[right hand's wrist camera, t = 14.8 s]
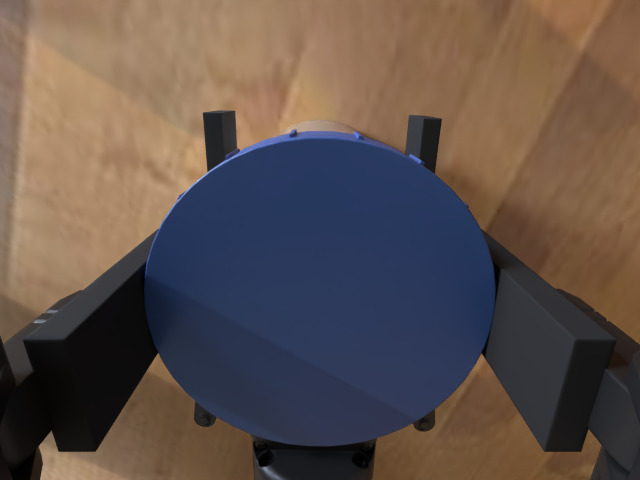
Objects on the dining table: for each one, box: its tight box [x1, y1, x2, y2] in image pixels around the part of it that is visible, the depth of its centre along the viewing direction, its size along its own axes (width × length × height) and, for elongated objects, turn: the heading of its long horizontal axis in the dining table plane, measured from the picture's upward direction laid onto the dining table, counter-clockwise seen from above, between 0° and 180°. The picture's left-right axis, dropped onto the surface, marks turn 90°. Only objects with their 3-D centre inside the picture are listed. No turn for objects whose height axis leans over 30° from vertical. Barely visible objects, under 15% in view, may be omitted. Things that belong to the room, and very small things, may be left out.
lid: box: [144, 129, 496, 446], centre depth 11 cm, size 9×9×2 cm
